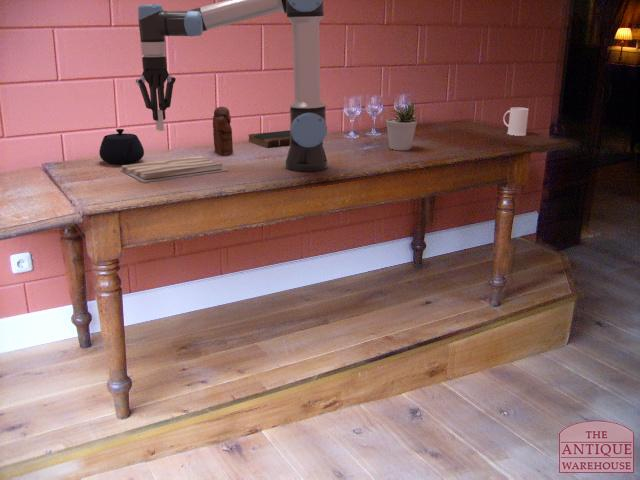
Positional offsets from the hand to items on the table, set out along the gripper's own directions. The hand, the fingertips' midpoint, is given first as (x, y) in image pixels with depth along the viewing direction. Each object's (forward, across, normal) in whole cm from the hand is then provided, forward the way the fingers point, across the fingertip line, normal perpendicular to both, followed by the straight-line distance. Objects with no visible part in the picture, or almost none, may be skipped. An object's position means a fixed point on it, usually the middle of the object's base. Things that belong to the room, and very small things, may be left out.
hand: (160, 130), depth 217 cm
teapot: (+16, +4, -27) cm, 31 cm away
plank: (+15, -6, -2) cm, 16 cm away
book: (+17, -68, -29) cm, 76 cm away
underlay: (+16, -6, -5) cm, 17 cm away
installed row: (+16, -6, -11) cm, 20 cm away
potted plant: (+17, -100, +10) cm, 102 cm away
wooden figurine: (+16, -35, -22) cm, 45 cm away
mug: (+18, -170, +12) cm, 171 cm away
